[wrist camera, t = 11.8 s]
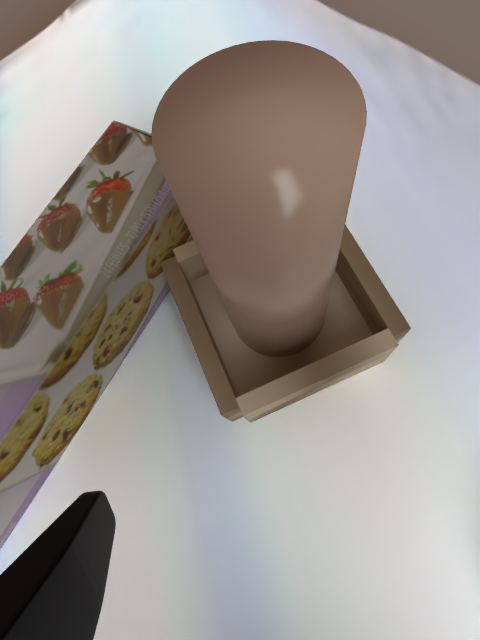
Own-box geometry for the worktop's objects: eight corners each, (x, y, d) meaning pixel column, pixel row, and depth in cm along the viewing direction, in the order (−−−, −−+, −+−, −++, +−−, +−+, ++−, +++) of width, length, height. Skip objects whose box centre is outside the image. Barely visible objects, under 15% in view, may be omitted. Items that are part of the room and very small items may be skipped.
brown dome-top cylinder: (275, 376, 19) (246, 253, 7) (213, 311, 20) (112, 126, 9) (345, 312, 19) (415, 108, 8) (280, 253, 21) (262, 12, 10)
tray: (235, 429, 19) (225, 424, 16) (175, 281, 22) (157, 256, 19) (398, 354, 19) (416, 336, 16) (316, 218, 22) (319, 183, 19)
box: (-99, 711, 17) (-275, 824, 12) (-169, 631, 19) (-355, 700, 13) (225, 218, 23) (204, 147, 18) (152, 186, 25) (114, 111, 19)
